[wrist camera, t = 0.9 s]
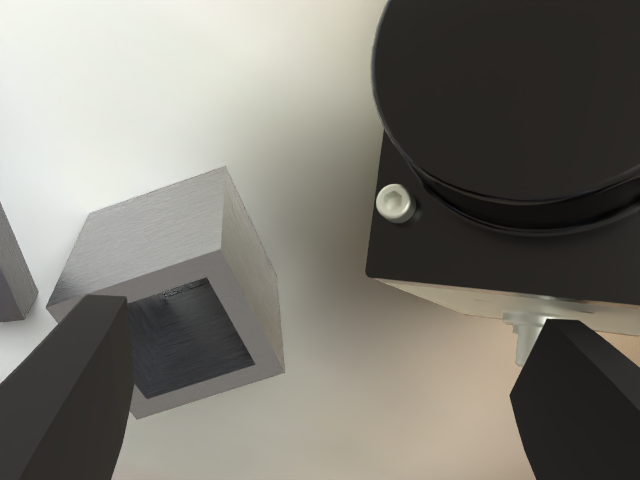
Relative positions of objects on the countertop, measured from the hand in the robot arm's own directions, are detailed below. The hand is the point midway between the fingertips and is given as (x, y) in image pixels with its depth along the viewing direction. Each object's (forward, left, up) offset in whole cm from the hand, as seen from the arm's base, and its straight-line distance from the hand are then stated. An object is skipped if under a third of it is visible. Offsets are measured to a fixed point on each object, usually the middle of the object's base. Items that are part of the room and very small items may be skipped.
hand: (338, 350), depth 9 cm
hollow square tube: (-4, -4, -10) cm, 12 cm away
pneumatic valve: (+7, +8, -8) cm, 13 cm away
